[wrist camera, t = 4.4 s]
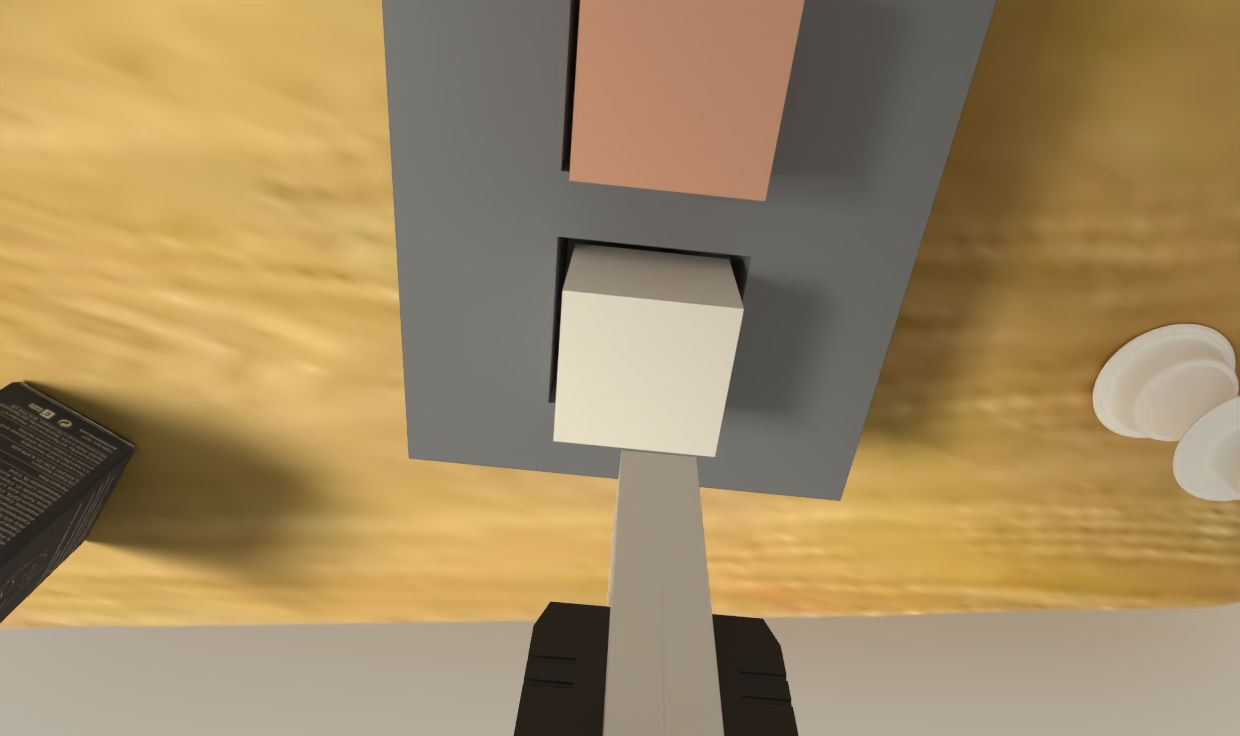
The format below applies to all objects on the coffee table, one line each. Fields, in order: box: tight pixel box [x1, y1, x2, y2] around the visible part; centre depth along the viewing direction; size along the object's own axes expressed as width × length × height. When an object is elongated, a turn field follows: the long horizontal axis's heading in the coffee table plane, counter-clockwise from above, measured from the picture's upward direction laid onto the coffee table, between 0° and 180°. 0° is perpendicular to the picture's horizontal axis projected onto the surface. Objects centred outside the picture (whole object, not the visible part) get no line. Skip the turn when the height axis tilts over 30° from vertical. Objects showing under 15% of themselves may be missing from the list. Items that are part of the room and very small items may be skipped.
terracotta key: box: [569, 0, 805, 201], centre depth 18 cm, size 5×5×4 cm
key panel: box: [382, 0, 997, 501], centre depth 22 cm, size 16×28×5 cm, turn 175°
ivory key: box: [553, 243, 744, 457], centre depth 22 cm, size 5×5×4 cm
